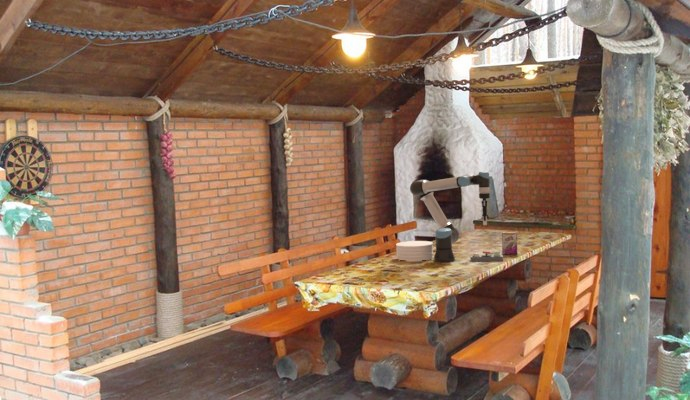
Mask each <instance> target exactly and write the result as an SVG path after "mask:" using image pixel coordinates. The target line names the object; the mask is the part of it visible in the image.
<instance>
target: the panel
mask: <svg viewBox="0 0 690 400" xmlns="http://www.w3.org/2000/svg"><path fill="white" fill-rule="evenodd" d="M503 255H504V254H500V256H495V255H494V254H486V253H484V254H483V255H482V254H479V257H473V255H470V257H469V258H470V262H503V261H504V256H503Z"/></svg>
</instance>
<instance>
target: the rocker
mask: <svg viewBox="0 0 690 400" xmlns="http://www.w3.org/2000/svg"><path fill="white" fill-rule="evenodd" d="M482 254H488V255H491V251H490V250H489V251H488V250H482Z"/></svg>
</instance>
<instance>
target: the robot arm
mask: <svg viewBox="0 0 690 400" xmlns="http://www.w3.org/2000/svg"><path fill="white" fill-rule="evenodd" d="M475 185H476V186H478V198H479V199H482V200H481V207H482V215H481V217H482V225H483V226H487V225H488V219H487V218H488V217H487V216H488V214H487V212H488V211H487V207H488V200H487V199H490V196H491V195H490V190H491V188H490V173H489V171H479V172H478V174H463V175H461V176H456V177H454V176H453V177H449V178H448V177H447V178H443V179H442V178H441V179H437V180H431V181H430V180H427V179H425V178H424V179H418V180H414V181H412V182H411V184H410V186H409V191H410V193H411V194H412V195H413V196H416V197H418V199H419V200H420V201H423V203H424V204H425V206H426V208H427V210H428V211H429V213H430V216H432V218H433V220H434V221H435V223H436V226H437V227H438V229H436V230H435V234H434V235H435V253H434V255H433V256H434V258H433V261H434V262H437V263H450V262H455V261H456V257H455V254H454V251H453V244H454V243H456V242H457V241H458V240H459V239H460V231H459V230H458V229H457V227H455V226H454V225H453V223H452V222H449V220H448V218H447V217H446V214H445V213H444V212H443V210H442V208H441V207H440V204H439V203H438V201H437V200H436V198H435V196H434V193H435V192H436V191H442V190H443V191H444V190H449V189H456V188H462V187H463V188H465V187H467V186H475Z"/></svg>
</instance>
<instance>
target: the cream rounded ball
mask: <svg viewBox="0 0 690 400" xmlns="http://www.w3.org/2000/svg"><path fill="white" fill-rule="evenodd" d="M479 255H480V254H479V253H478V252H473V257H479Z"/></svg>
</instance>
